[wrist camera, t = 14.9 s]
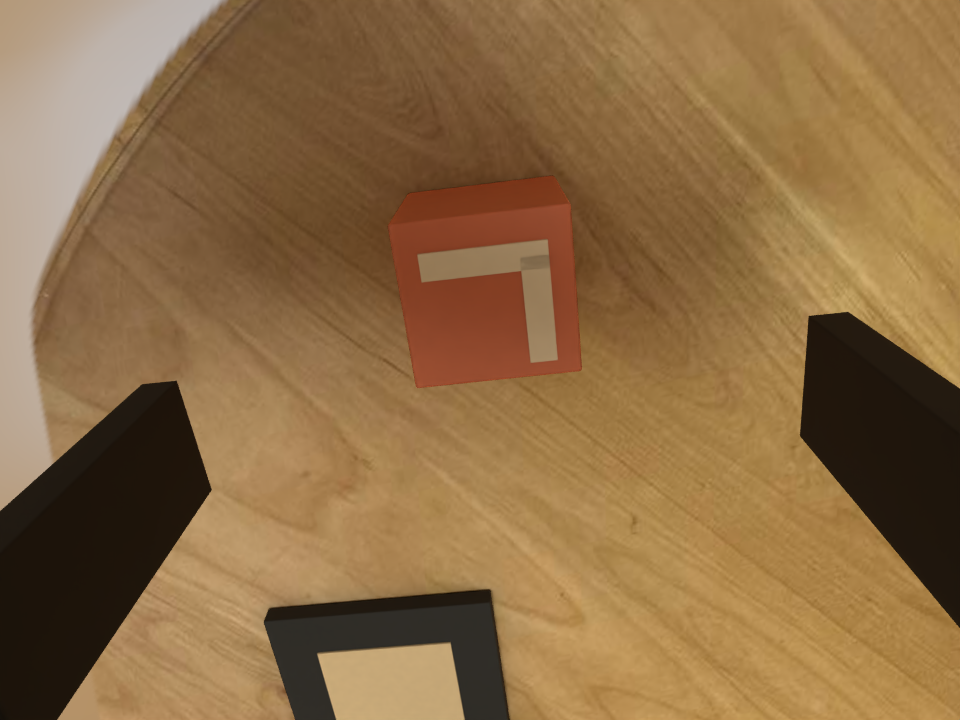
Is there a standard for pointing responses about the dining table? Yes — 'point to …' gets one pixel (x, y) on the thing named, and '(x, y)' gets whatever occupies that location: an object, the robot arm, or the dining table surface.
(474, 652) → the word mat
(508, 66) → the dining table surface
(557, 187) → the letter block l
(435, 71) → the dining table surface
